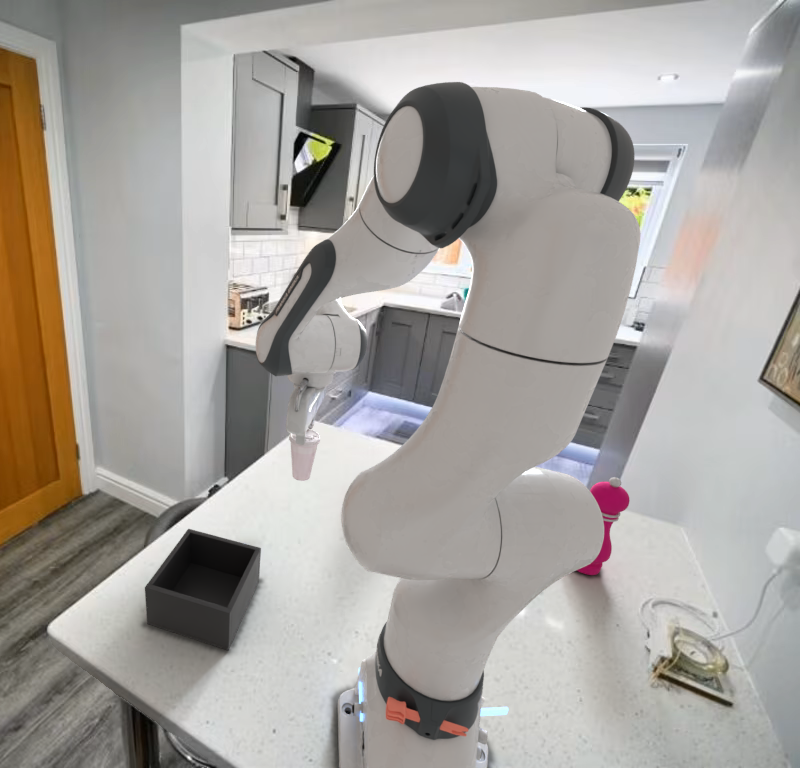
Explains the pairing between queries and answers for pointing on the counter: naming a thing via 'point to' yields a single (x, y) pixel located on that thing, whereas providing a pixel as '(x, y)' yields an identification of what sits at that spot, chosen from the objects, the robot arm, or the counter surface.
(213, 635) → the basket
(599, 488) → the pepper mill
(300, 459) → the smoothie
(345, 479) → the counter surface
